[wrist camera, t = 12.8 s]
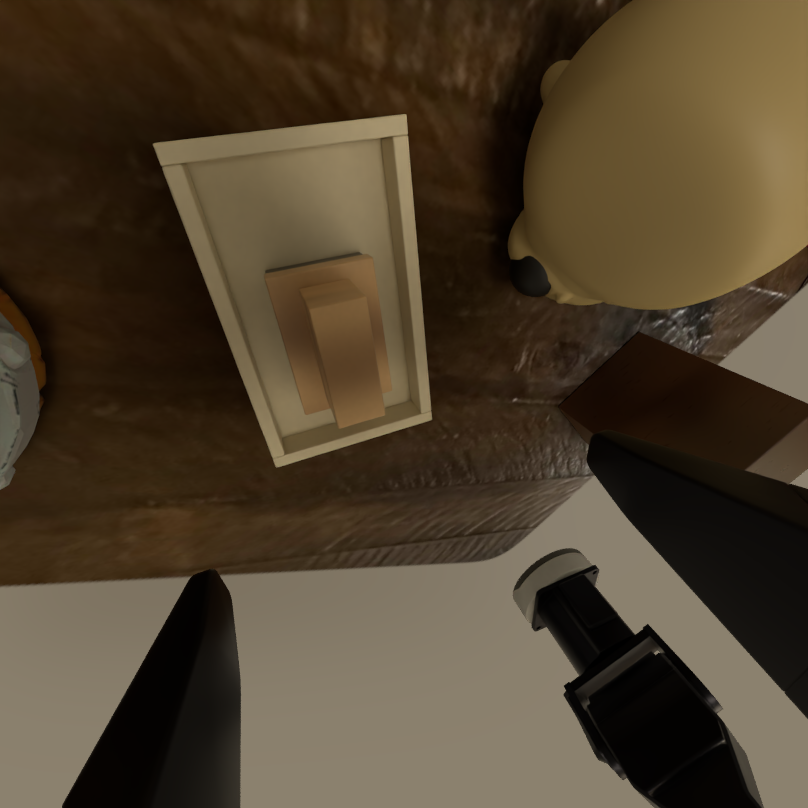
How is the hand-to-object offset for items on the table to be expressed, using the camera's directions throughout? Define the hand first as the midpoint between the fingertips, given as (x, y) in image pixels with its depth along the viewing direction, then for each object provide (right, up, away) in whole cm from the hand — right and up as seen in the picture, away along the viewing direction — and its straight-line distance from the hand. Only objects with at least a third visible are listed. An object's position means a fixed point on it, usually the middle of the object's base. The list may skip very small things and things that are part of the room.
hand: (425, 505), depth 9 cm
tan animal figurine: (+7, +13, +10) cm, 18 cm away
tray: (-4, +7, +9) cm, 12 cm away
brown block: (+14, +3, +19) cm, 24 cm away
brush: (-4, +6, +9) cm, 12 cm away
